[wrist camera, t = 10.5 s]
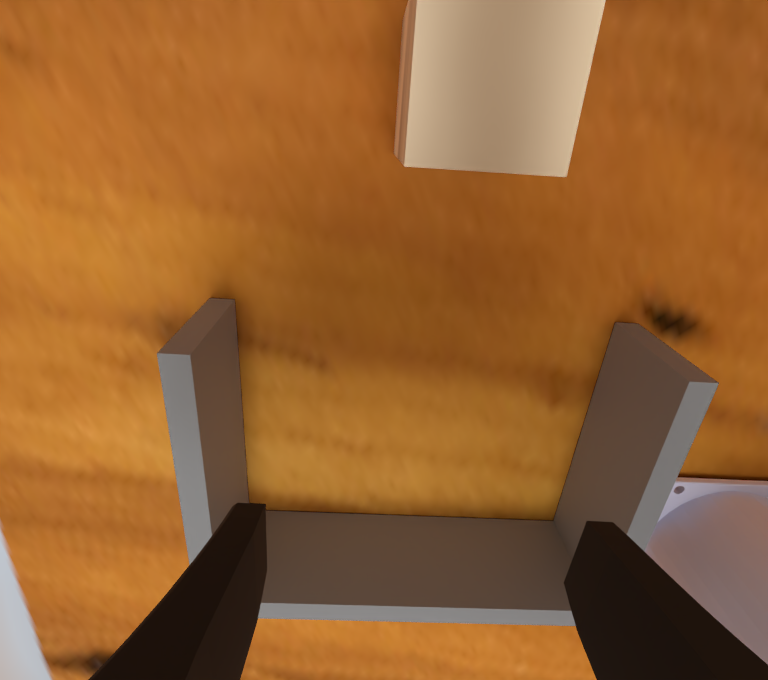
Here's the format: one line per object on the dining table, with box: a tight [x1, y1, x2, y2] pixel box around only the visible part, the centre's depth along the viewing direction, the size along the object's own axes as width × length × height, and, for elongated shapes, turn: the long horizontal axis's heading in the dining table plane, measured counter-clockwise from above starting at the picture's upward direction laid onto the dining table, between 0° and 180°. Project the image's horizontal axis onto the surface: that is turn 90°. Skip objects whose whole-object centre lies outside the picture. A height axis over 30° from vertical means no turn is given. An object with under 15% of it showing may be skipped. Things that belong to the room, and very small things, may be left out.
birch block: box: [394, 0, 605, 177], centre depth 13 cm, size 4×4×6 cm
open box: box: [157, 298, 719, 626], centre depth 19 cm, size 18×12×5 cm
